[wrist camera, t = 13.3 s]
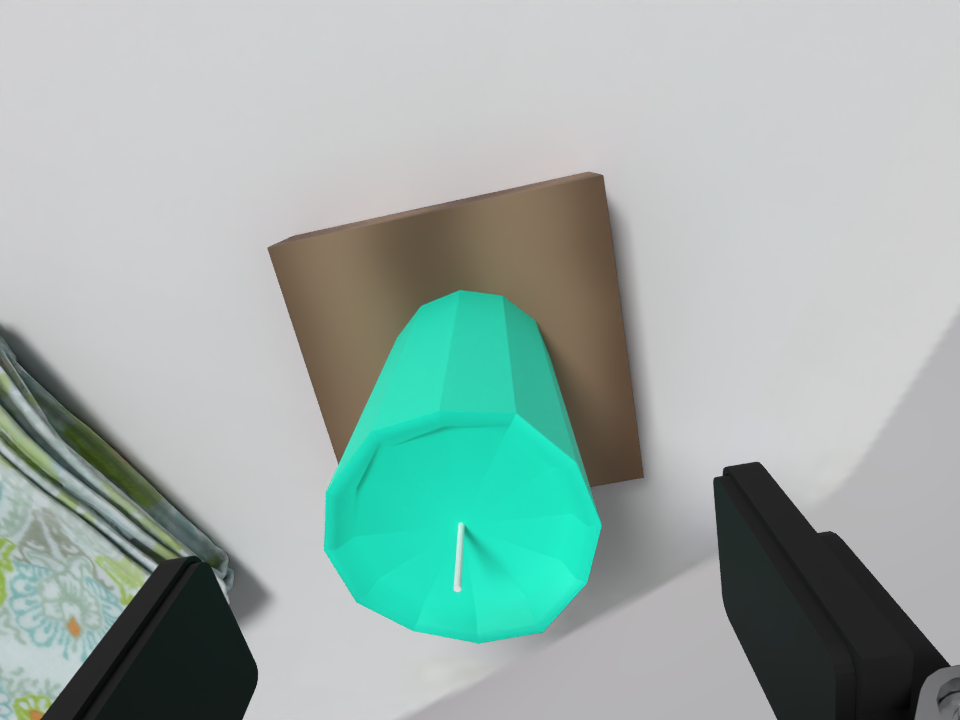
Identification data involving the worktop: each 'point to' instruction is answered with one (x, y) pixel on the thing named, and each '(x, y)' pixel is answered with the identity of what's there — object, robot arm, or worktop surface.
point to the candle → (464, 480)
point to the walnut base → (478, 268)
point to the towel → (71, 542)
